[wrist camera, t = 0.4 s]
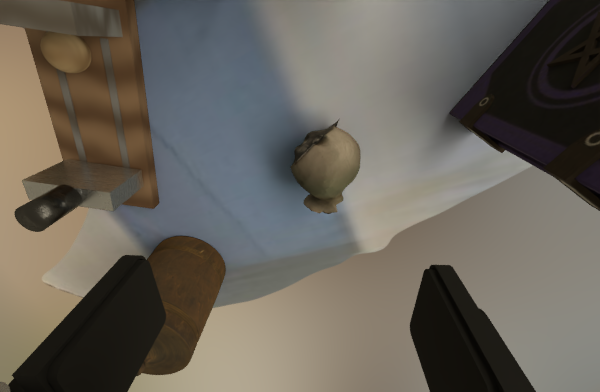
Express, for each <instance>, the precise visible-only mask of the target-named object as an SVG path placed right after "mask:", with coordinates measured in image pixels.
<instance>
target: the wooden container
mask: <svg viewBox="0 0 600 392" xmlns="http://www.w3.org/2000/svg"><path fill="white" fill-rule="evenodd" d="M147 260H148V261H149V263H150V265H151V268H152V271H153V275H154V278H155V281H156V284H157V287H158V290H159V293H160V296H161V299H162V303H163V306H164V309H165V312H166V320H165V323H164V326H163V327H162V329H161V331H160V333H159V335H158V337H157V338H156V340H155V342H154V344H153V346H152V348H151V349H150V351H149V353H148V355H147V357H146V358H145V360H144V362H143V364H142V366H141V368H140V369H139V371H138V373H137V375H136V376H138V375H140V374H141V373H145V374H152V375H165V374H172V373H175V372H178V371H180V370H182V369H184V368H185V367H186V366H187V365H188V363H189V362H190V360H191V358H192V355H193V353H194V350H195V347H196V345H197V342H198V340H199V338H200V336H201V333H202V331H203V328H204V326H205V324H206V321H207V319H208V317H209V315H210V312H211V310H212V307H213V305H214V303H215V300H216V298H217V295H218V293H219V290H220V287H221V284H222V282H223V279H224V276H225V271H226V269H225V263H224V260H223V258H222V257H221V255H220V254H219V253H218V252H217V251H216V249H214V248H213V247H212V246H210V245H209V244H207V243H206V242H204V241H202V240H199V239H196V238H193V237H187V236H176V237H171V238H168V239H166V240H164V241H162V242H161V243H160V244H159V245H158V246H157V247H156V248H155V250H154V251H153V252H152V254H151V255H150V256H149V258H148V259H147Z"/></svg>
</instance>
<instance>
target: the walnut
mask: <svg viewBox="0 0 600 392" xmlns="http://www.w3.org/2000/svg"><path fill="white" fill-rule="evenodd" d="M40 46H41V51H42V53H43V55H44V57H45V59H46V60H47V61H48V62H49V63H50V64H51V65H52V66H54V67H55V68H57V69H59V70H61V71H63V72H67V73H79V72H82V71H84V70H86V69H87V68H88V67H89V65H90V63H91V52H90V49H89V47H88V45H87V44H86V43H85V41H84V40H83V39H82V38H80V37H79V36H76V35H70V34H63V33H57V32H50V31H48V32H47V33H45V34H44V36H43V37H42V39H41V44H40Z"/></svg>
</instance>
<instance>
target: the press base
mask: <svg viewBox="0 0 600 392" xmlns="http://www.w3.org/2000/svg"><path fill="white" fill-rule="evenodd" d="M0 24H4V25H10V26H17V27H23V28H25V30H26V34H27V37H28V41H29V44H30V48H31V51H32V54H33V58H34V61H35V65H36V68H37V72H38V75H39V79H40V82H41V86H42V89H43V93H44V96H45V99H46V103H47V106H48V110H49V113H50V117H51V120H52V123H53V127H54V130H55V133H56V137H57V141H58V144H59V148H60V151H61V154H62V158H63V161H65V160H67V159H69V160H76V161H83V162H90V163H97V164H104V165H111V166H118V167H125V168H132V169H139V170H141V171H142V178H143V185H144V186H143V187H142V188H141V189H140V190H139V191H137V192H136V193H135V194H134V195H132V196H131V197H130V198H129V199H128V200H126V201H125V202H124V203H123V205H130V206H137V207H145V208H152V209H154V208H155V207H156V206H157V205H158V204H159V197H158V189H157V181H156V173H155V165H154V157H153V149H152V141H151V133H150V125H149V117H148V109H147V101H146V93H145V84H144V76H143V68H142V60H141V52H140V44H139V36H138V28H137V20H136V12H135V4H134V0H0ZM48 31H50V32H57V33H63V34H70V35H76V36H79V37H80V38H82V39H83V40H84V41H85V43H86V44H87V45H88V47H89V49H90V52H91V63H90V65H89V67H88V68H87V69H86V70H84V71H82V72H79V73H67V72H63V71H61V70H59V69H57V68H55V67H54V66H52V65H51V64H50V63H49V62H48V61H47V60H46V59H45V57H44V55H43V53H42V51H41V46H40V44H41V39H42V37H43V36H44V34H45V33H47V32H48Z"/></svg>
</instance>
